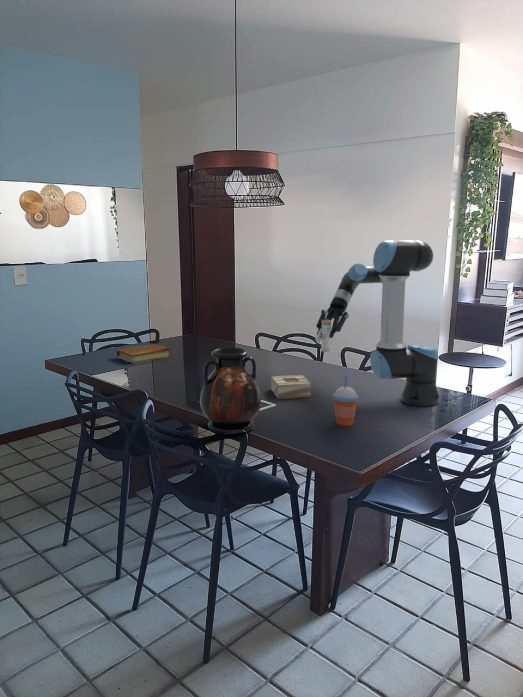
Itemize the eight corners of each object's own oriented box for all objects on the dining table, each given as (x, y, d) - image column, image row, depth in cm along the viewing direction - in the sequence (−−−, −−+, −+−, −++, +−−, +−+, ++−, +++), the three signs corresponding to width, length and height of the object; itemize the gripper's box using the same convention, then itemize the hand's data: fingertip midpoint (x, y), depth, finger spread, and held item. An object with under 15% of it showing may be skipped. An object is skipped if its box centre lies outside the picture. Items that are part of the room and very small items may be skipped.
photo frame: (246, 394, 229) (275, 404, 216) (246, 397, 230) (275, 406, 217) (219, 402, 220) (248, 412, 207) (219, 404, 220) (248, 415, 207)
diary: (153, 353, 316) (152, 343, 315) (170, 358, 302) (170, 348, 301) (117, 359, 301) (116, 349, 300) (133, 365, 287) (132, 354, 286)
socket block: (310, 396, 228) (310, 383, 227) (278, 398, 226) (278, 385, 224) (302, 387, 242) (302, 374, 240) (271, 389, 239) (271, 376, 238)
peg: (331, 351, 243) (332, 320, 240) (322, 352, 242) (323, 321, 239) (328, 349, 247) (329, 319, 244) (319, 350, 246) (320, 319, 243)
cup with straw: (354, 418, 201) (356, 372, 197) (359, 427, 192) (361, 378, 188) (330, 419, 200) (331, 372, 197) (334, 427, 191) (335, 378, 188)
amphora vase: (249, 414, 206) (248, 342, 200) (270, 433, 186) (270, 354, 180) (194, 422, 198) (191, 347, 193) (210, 442, 179) (208, 360, 173)
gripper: (359, 307, 248) (341, 349, 238) (327, 305, 258) (308, 344, 248) (354, 297, 242) (335, 339, 233) (321, 295, 252) (302, 335, 243)
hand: (321, 342), depth 241 cm, fingers closed on peg, 4 cm apart
